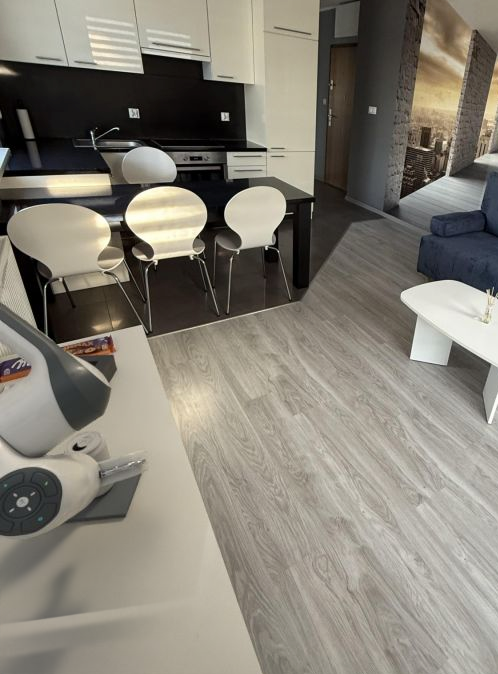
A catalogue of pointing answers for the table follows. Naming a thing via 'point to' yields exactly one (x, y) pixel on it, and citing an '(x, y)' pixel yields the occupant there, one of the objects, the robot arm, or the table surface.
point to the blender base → (102, 364)
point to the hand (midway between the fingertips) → (85, 477)
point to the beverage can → (90, 450)
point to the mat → (110, 502)
